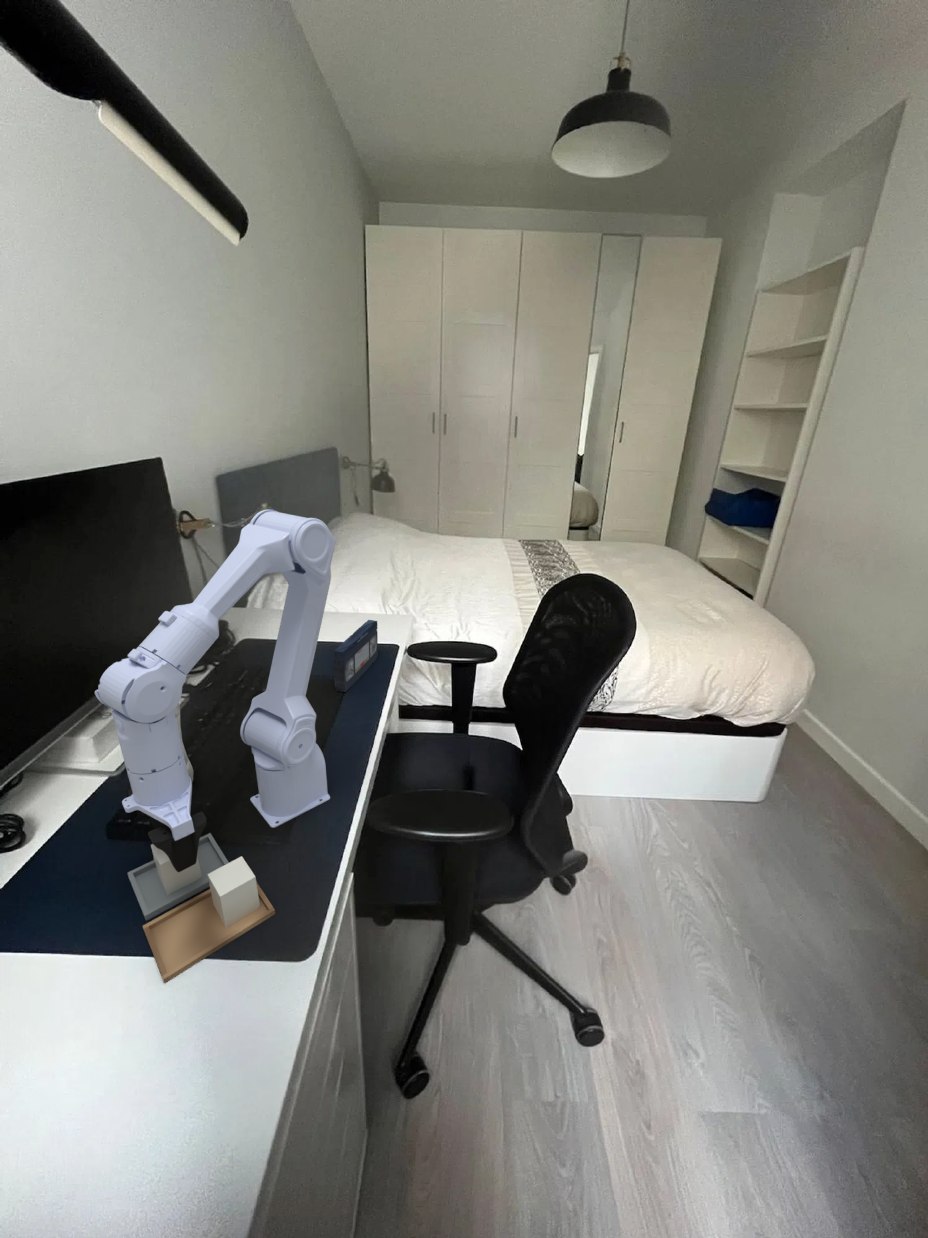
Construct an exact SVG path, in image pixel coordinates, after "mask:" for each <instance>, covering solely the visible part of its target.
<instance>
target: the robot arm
mask: <svg viewBox="0 0 928 1238" xmlns="http://www.w3.org/2000/svg"><path fill="white" fill-rule="evenodd" d="M336 542H337V541H336V539H335V538H334V535H333V534H332V532H331V531H330V529H329V527H328V526H327V524H326V523H325V522H324V521H323V520H321V519H318V518H317V517H304V516H299V515H295V514H289V513H284V512H280V511H277V510H275V509H264V510H261V511H259V512H258V513H256V514H254V516H253V517H252V518H251V520H250V523H248V524H246V525H245V526H244V527H243V528H242V529H241V530H240V535H239V540H238V543H237V545H236V546H235V547H234V549H233V550H232V551H231V553H230V554H229V555H228V556H227V558H226V559H225V560H224V562H223V563H222V564H221V565H220V566H219V568H218V569H217V571H216V572H215V573H214V575H213V576H212V577H211V578H210V580H208V582H207V584H206V585H205V586H204V587H203V589H202V590H201V592H200V593H199V594H198V595H197V597H196V598H195V599H194V600H193V602H191V603H186V604H179V605H174V607H173V608H172V609H171V610H170V611H168V610H165V611H163V612H162V614H161V615H160V616H159V617H158V621H159V623H158V625H156V626H155V628H154V629H153V630H152V631H151V632H150V633H149V634H148V635H147V636H146V638H145V639H143V641H142V642H141V643H140V644H139V645H138V646H137V647H136V648H132V650H131V651H130V652H129V653H127V657H126V658H122V659H121V660H120V661H116V662H113V663H112V664H111V665H110V666H108V667H107V669H105V671H104V672H103V673H102V675H101V677H100V679H99V684H98V686H97V687H98V689H96V690H95V691H94V695H95V697H96V698H97V700H98V701H99V702H100V703H101V704H103V705H104V706H105V707H107V708H110V709H112V711H111V714H112V719H113V722H114V726H115V730H116V736H117V740H118V744H119V747H120V751H121V754H122V758H123V763H124V766H125V769H126V772H127V773H126V774H127V777H128V780H129V783H130V788H129V789H128V791H127V792H128V797H125V798H123V800H122V801H121V803H122V806H123V809H124V811H125V813H129V814H130V813H133V812H134V811H140V812H141V813H143V814H146V816H147V818H148V819H149V821H150V823H151V826H152V827H153V829H152V830H150V831H148V832H147V833H148V837H149V839H150V841H151V843H152V844H154V845H155V846H156V847H157V848H158V849H160V850H162V851H163V852H165V853H166V855H167V856H168V857H169V859H170V861H171V863H172V865H173V867H174V868H175V870H176V871H177V872H181V871H183V870H185V869H187V868H189V867H191V866H192V865H194V864H196V860H197V853H198V844H199V839H200V838H201V837H202V833H203V831H204V830H205V828H206V827H207V822H208V821H207V817H206V815H205V813H204V812H203V811H202V810H201V811H200V812H196V813H195V814H192V815H191V806H192V794H193V782H191V779H190V777H189V776H188V772H187V767H186V763H185V758H184V753H183V749H182V744H181V739H180V734H179V730H178V725H177V720H176V717H175V712H174V708H175V707H177V705H178V703H179V704H180V701H181V698H182V694H183V686H184V685H185V682H186V681H187V680H186V679H187V678H188V676H187V675H188V674H189V673H190V672H191V671H192V669H194V666H196V664H198V662H199V661H200V660H201V659H202V657H203V656H204V655H205V654H206V652H207V651H208V650H209V649H210V647H212V645H213V644H214V643H215V641H217V639H218V638H219V637H220V629H219V622H220V619H222V618H223V617H224V616H225V614H227V613H228V612H229V610H231V608H233V607H234V605H235V604H236V603H238V602H239V600H240V599H241V598H242V597H244V595H246V593H248V591H249V590H250V589H251V588H252V587H253V586H254V585H255V584H256V583H257V582H258V581H259V580H260V579H261V578H262V576H264V575H268V574H276V573H280V574H281V575H282V577H283V578H284V580H285V581H286V582H287V584H288V585H287V589H286V590H287V591H286V595H285V600H284V605H283V610H282V614H281V618H280V619H281V620H280V623H279V628H278V632H277V638H276V642H275V646H274V652H273V656H272V660H271V666H270V671H269V676H268V680H267V684H266V690H265V691H263V692H262V693H259V694H258V695H256V696H254V697H253V698H252V700H251V704H250V707H249V710H248V712H247V714H246V715H245V716H244V718H243V720H242V722H241V725H240V729H239V730H240V731H239V732H240V733H239V734H240V737H241V738H240V739H241V740H242V741H243V743H244V744H246V745H248V746H250V747H251V754H253V757H254V765H255V767H254V768H255V772H256V773H255V774H256V781H257V787H258V793H257V794H256V795H253V796H251V797H250V802H251V803H252V804H253V806H254V807H255V809H257V812H259V814H260V816H262V817H263V819H264V820H265V821H266V823H267V825H269V827H270V828H272V829H273V828H274V829H275V828H277V827H279V826H281V825H283V824H284V823H286V822H288V821H291V820H292V819H294V818H296V817H298V816H301V815H302V814H304V813H306V812H307V811H310V810H311V809H314V808H315V807H317V806H319V805H321V804H323V803H325V802H327V801H329V800H330V799H331V796H330V794H329V793H328V779H327V769H326V768H327V767H326V765H327V764H326V760H325V757H324V754H323V752H322V750H321V748H320V747H319V745H318V744H317V742H316V741H317V732H316V720H317V713H316V712H315V709H314V708H313V706H312V705H311V703H310V702H309V700H308V698H307V696H306V694H307V692H308V685H309V682H310V676H311V672H312V668H313V663H314V659H315V653H316V649H317V646H318V640H319V636H320V631H321V626H322V622H323V617H324V615H325V614H324V613H325V608H326V604H327V600H328V595H329V590H330V585H331V581H332V570H331V568H332V567H331V565H332V561H333V556H334V552H335V547H336Z"/></svg>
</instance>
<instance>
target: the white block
mask: <svg viewBox="0 0 928 1238" xmlns="http://www.w3.org/2000/svg"><path fill="white" fill-rule="evenodd" d="M150 848H151V850H152V851H151V852H152V855H153V860H155V864H156V868H157V872H158V876H159V878H160V880H161V882H162V885H163V887H164V889H165V891H166V894H167V895H169V894H171V893H173V892H175V891H177V890H179V889H180V888H182V887H184V886H186V885H188V884H190V883H192V882H194V881H196V880H198V879H200V878H201V877H202V875H201V871H200V866H199V861H198V856H197V860H196V864H194V865H192V866H191V867H189V868H187V869H185V870H183V871H181V872H177V871H176V870H175V868H174V867H173V865H172V863H171V861H170V859H169V857H168V856H167V855H166V853H165V852H163V851H162V850H160V849H158V848H157V847H156V846H155V845H154V844H153V843H152V844H150Z"/></svg>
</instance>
